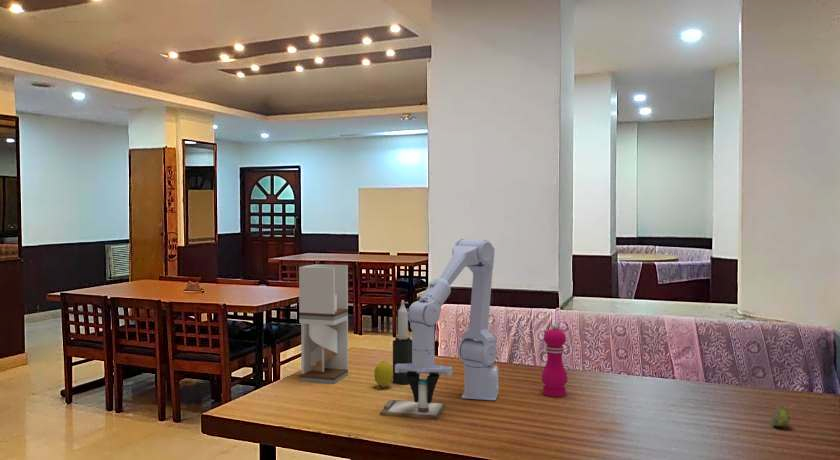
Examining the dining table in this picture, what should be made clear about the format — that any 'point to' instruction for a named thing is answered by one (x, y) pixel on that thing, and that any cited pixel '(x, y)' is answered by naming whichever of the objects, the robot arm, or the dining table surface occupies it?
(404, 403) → the clipboard
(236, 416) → the dining table surface
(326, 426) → the dining table surface
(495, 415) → the dining table surface
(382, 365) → the lemon
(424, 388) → the marker
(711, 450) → the dining table surface
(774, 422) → the lime
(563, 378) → the pepper mill
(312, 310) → the white tiered tower model
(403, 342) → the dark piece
